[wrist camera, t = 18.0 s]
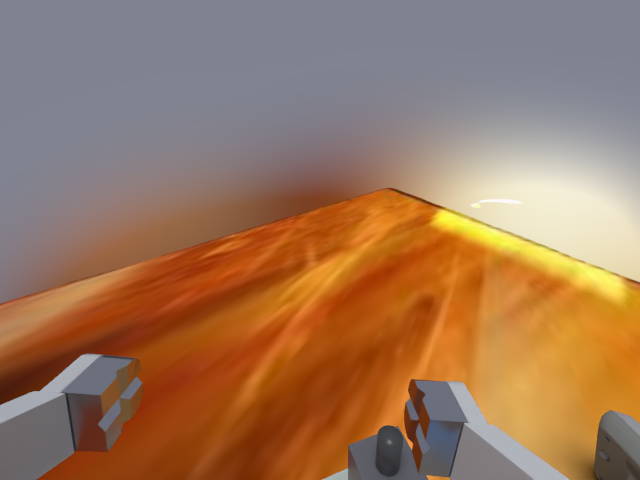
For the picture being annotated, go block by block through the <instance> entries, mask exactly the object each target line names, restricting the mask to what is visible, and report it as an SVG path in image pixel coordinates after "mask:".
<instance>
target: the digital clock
mask: <svg viewBox="0 0 640 480" xmlns="http://www.w3.org/2000/svg"><path fill="white" fill-rule="evenodd" d="M594 471H595V474H596V477H597V478H598V480H640V424H639V423H638V422H637V421H636V420H634V419H633V418H632V417H630V416H628V415H625V414H622V413H619V412H615V411H611V410H610V411H608V412H606V413H605V414H604V415H603V416H602V417H601V420H600V423H599V428H598V435H597V445H596V454H595V464H594Z"/></svg>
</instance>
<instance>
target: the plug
mask: <svg viewBox="0 0 640 480" xmlns="http://www.w3.org/2000/svg"><path fill="white" fill-rule="evenodd" d="M348 480H428V478H427V477H426V475H421V474H418V471H417V467H416V464H415V461H414V457H413V454H412V450H411V448H410V447H409V445H408V443H407V441H406V440H405V438H404V436H403V434H402V432H401V431H400V429H399V427H398V426H397V427H393V426H389V425H388V426H383V427H382V428H381V429H380V430H379V431H378V434H376V435H374V436H371V437H369V438H366V439H363V440H361V441H358V442H356V443H353V444H351V445H348Z"/></svg>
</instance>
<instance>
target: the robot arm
mask: <svg viewBox="0 0 640 480" xmlns="http://www.w3.org/2000/svg"><path fill="white" fill-rule="evenodd" d="M140 371H141V364H140V360H138V359H137V358H130V357H120V356H109V355H97V354H84V355H81V356H80V357H79V358H78V359H77V360H76V361H74V362H73V363H72V364H71V365H70V366H69V367H67V368H66V369H65V370H64V371H63V372H62V373H60V374H59V375H58V376H57V377H56V378H55V379H53V380H52V381H51V382H50V383H49V384H48V385H46V386H45V387H44V388H43V389H42V390H41V391H33V392H30V393H28V394H26V395H23V396H21V397H18V398H16V399H14V400H11V401H9V402H6V403H4V404H2V405H0V480H36V479H38V478H39V477H41V476H42V475H43V474H45V473H46V472H48V471H49V470H51V469H52V468H53V467H55V466H56V465H58V464H59V463H60V462H62V461H63V460H65V459H66V458H68V457H69V456H70V455H72V454H73V453H74V451H94V452H108V451H109V449H110V448H111V447H112V445H113V444H114V442H115V441H116V440H117V438H118V437H119V435H120V434H121V432H122V431H123V430H122V423H124V422H126V421H127V420H129V419H131V418H132V417H133V415H134V414H135V412H136V411H137V409H138V407H139V404H140V402H141V399H142V392H143V386H142V382H141V381H140V380H139V379H138V377H137V375H138V374H139V373H140ZM408 392H409V395H410V399H409V400H408V401H407V402H406V404H405V411H404V423H405V429H406V433H407V437H408V439H409V440H410V441H411V442H412V443H413V448H412V454H413V457H414V461H415V464H416V467H417V471H418V474H421V475H431V476H440V477H450V480H569V479H568V478H567V477H565V476H564V475H563V474H561V473H560V472H558V471H557V470H556V469H554V468H553V467H551V466H550V465H549V464H547V463H546V462H545V461H543V460H542V459H540V458H539V457H538V456H536V455H535V454H534V453H532V452H531V451H529V450H528V449H527V448H525V447H524V446H522V445H521V444H520V443H518V442H517V441H516V440H514V439H513V438H511V437H510V436H509V435H507V434H506V433H504V432H503V431H502V430H500V429H499V428H498V427H496V426H495V425H489V424H488V422H487V421H486V419H485V417H484V416H483V414H482V412H481V411H480V409H479V407H478V406H477V404H476V402H475V401H474V399H473V397H472V396H471V394H470V393H469V391H468V389H467V388H466V386H465V384H464V383H462V382H455V381H444V382H443V381H430V380H415V379H411V381H410V383H409V388H408Z"/></svg>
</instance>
